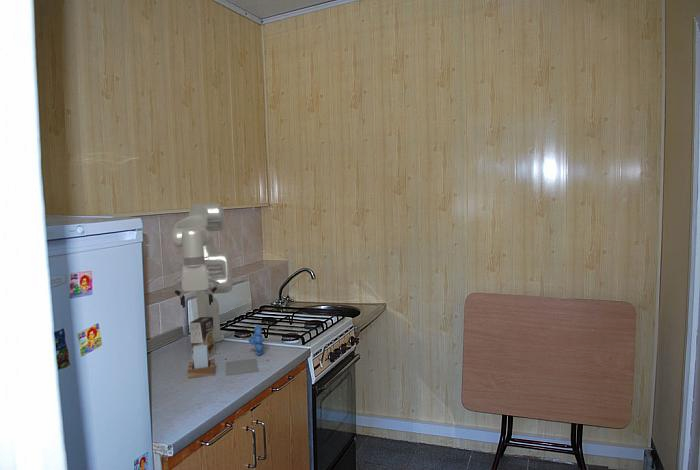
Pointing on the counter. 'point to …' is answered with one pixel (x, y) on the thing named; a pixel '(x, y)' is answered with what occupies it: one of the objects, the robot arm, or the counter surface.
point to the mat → (241, 367)
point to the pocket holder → (201, 370)
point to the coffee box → (203, 334)
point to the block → (200, 356)
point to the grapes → (257, 340)
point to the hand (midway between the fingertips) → (197, 305)
